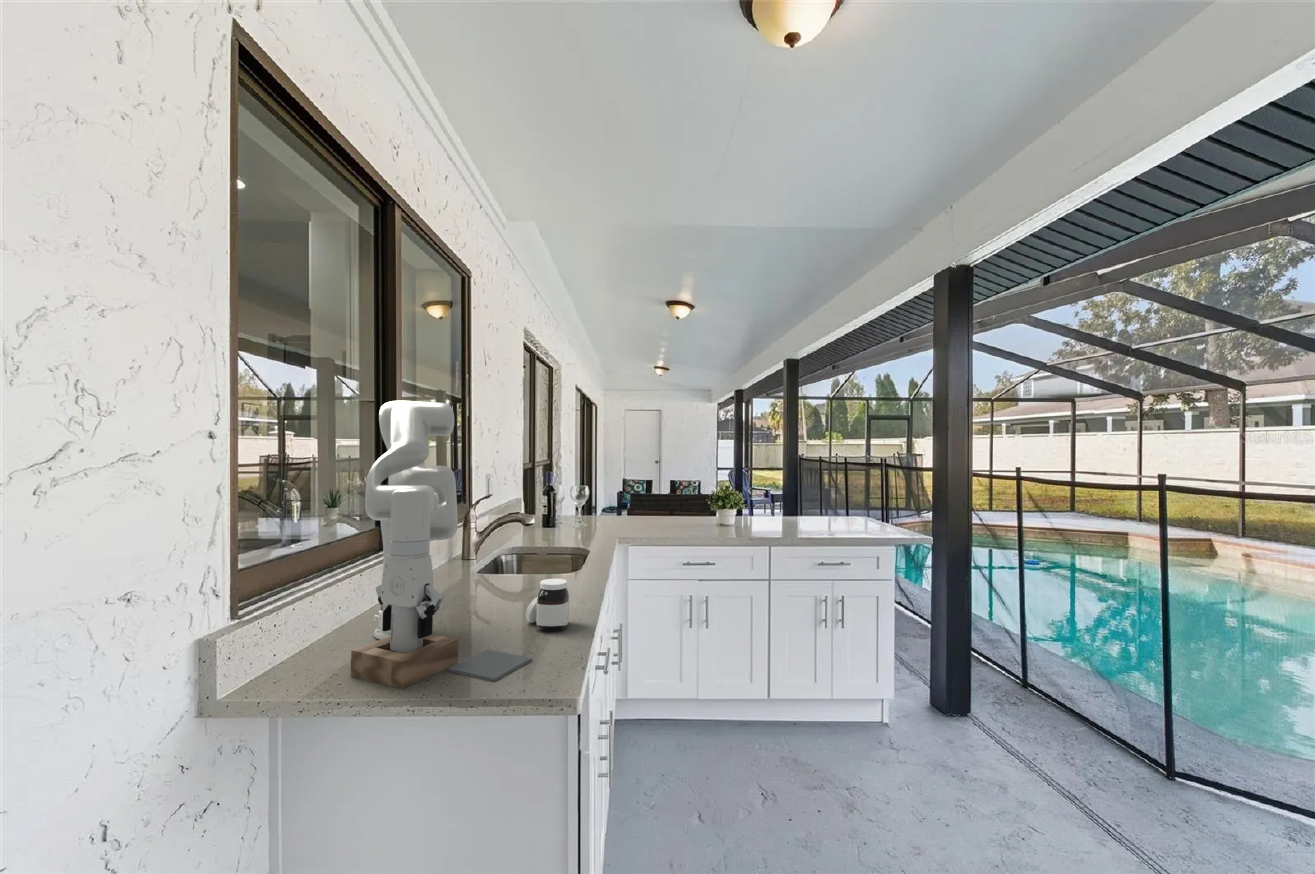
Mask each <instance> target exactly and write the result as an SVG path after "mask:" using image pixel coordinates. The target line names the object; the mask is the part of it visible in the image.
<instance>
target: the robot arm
mask: <svg viewBox="0 0 1315 874" xmlns="http://www.w3.org/2000/svg"><path fill="white" fill-rule="evenodd" d="M378 421H379V429H380V434H381V437H382V440H383V442H384V445H385V447H386V450H387V451H386V452H385V453H383V454H382V455H381V456H380V457H378V458H377V460H375V462H374V463H373V464H372V466H371V467H370V469H369V471H368V474H367V477H366V482H365V483H366V484H365V495H364V496H365V497H364V509H365V510H364V511H365V512H366V515H367V516H368V517H369V518H370V519H372V520H373V521H380V530H381V537H382V549H383V551H382V552H383V553H382V554H383V555H382V557H383V561H382V576H381V584H379V585H378V586H376V588H375V591H376V595H377V601H378V603H379V605H380V610H379V611H378V612H377V614H374V615H373V617H372V620H373V621H375V622H378V627H376V628H374V630H373V637H374V638H375V639H378V640H382V639H384V638H387V637H390V636H391V610H392V605H398V606H401V607H404V608H410V609H412V608H415V607H416V609H417V611H418V612H419V614H420V616H421V618H418V638H420V639H421V638H424V637H426V636H429V635H431V634H433V616H434V615H435V614H436V612H437V611H438V610H439V609H440V606H441V603H442V601H443V599H444V598H443V595H442V594H441V593H440V592H439V591H437V590H436V589H435V587H434V573H433V572H434V571H433V570H434V569H433V562H432V556H431V554H430V551H431V550H430V544H431V541H443V540H449V539H452V538H453V537H454V536H456V534H457V531H458V524H459V519H458V518H459V517H458V502H457V500H458V499H457V497H458V496H457V483H456V476H455V473H454V472H453V470H452V469H451V468H450V467H448V466H446V465H427V464H426V463H425V461H426V460H428V458H429V455H430V436H433V437H434V436H435V437H436V436H438V437H449V436H450V435H452V433H453V431H454V428H455V413H454V410H453V408H452V407H451V405H450V404H448V403H447V402H446V403H445V402H435V401H433V402H432V401H418V400H417V401H416V400H392V401H388V402H385V403H384V404H382V405H381V406H380V409H379V412H378ZM387 478H388V481H387V484H381V483H382V482H384V481H385V480H386V479H387ZM422 600H423V602H422ZM423 606H424V607H423ZM425 608H426V609H425Z"/></svg>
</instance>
